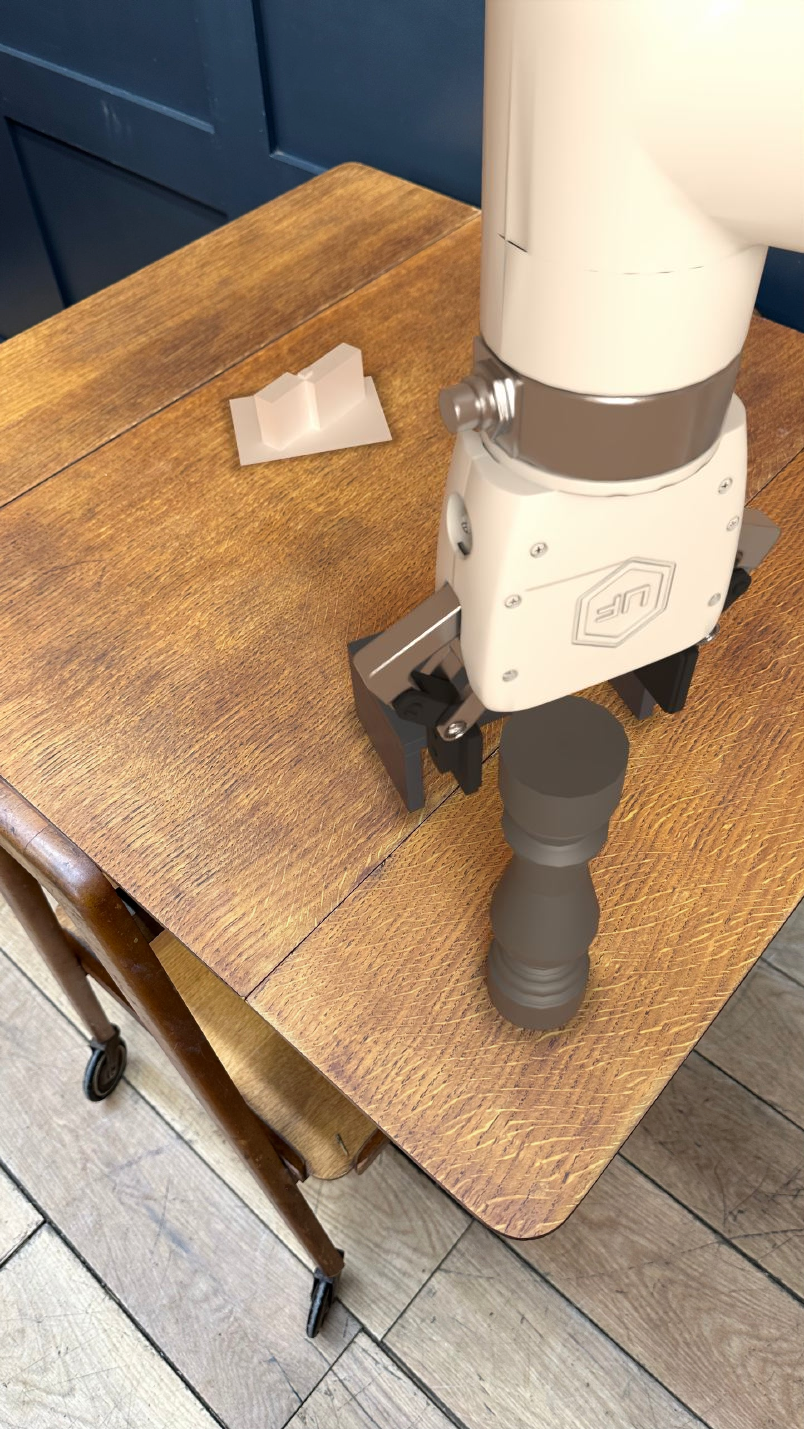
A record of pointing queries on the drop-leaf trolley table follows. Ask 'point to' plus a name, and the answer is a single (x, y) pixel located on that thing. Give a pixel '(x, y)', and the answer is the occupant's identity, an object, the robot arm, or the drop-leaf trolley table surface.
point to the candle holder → (551, 855)
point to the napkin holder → (311, 411)
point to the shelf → (407, 739)
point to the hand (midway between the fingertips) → (558, 728)
